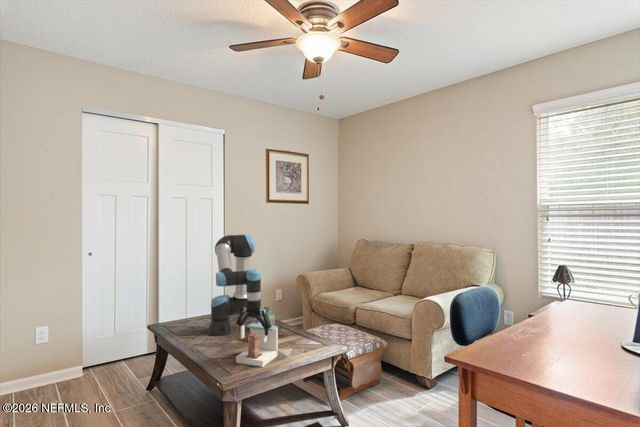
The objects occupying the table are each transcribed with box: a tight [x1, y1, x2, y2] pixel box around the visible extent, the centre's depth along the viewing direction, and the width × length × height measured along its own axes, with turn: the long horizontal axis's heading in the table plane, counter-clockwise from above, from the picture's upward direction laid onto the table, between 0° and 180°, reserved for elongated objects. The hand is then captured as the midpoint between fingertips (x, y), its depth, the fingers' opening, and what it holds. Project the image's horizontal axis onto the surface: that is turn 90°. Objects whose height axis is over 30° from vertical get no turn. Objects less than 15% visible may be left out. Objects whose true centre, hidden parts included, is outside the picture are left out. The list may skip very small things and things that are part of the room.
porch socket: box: [235, 322, 279, 368], centre depth 192 cm, size 16×16×16 cm
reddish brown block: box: [247, 333, 259, 359], centre depth 189 cm, size 4×4×14 cm
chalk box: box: [255, 306, 276, 326], centre depth 240 cm, size 9×9×15 cm
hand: (253, 339), depth 189 cm, fingers open, 13 cm apart
